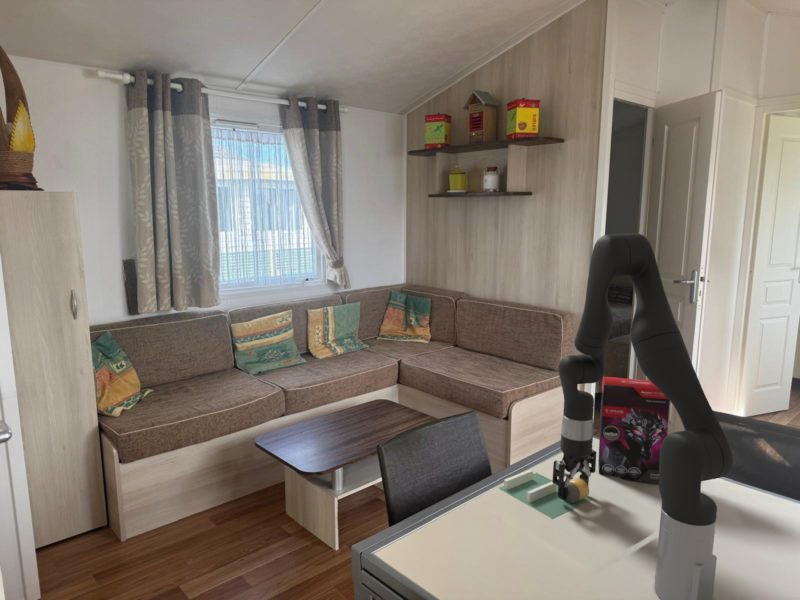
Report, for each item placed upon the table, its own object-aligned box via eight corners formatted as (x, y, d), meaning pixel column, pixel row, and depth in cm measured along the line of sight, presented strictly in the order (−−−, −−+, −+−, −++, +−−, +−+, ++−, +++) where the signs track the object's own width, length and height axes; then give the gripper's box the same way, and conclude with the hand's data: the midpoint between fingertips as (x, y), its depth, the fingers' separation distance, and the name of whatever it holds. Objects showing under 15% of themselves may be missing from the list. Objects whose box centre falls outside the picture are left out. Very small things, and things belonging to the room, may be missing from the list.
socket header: (555, 491, 146) (556, 482, 146) (529, 502, 141) (529, 493, 140) (529, 478, 154) (530, 469, 153) (503, 488, 148) (504, 479, 147)
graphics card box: (597, 477, 156) (603, 382, 151) (596, 466, 163) (602, 375, 158) (664, 486, 151) (673, 388, 147) (660, 474, 158) (668, 381, 153)
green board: (591, 502, 142) (591, 500, 142) (552, 521, 134) (552, 518, 134) (536, 475, 157) (536, 472, 157) (497, 490, 148) (498, 487, 148)
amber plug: (587, 501, 142) (590, 484, 141) (574, 507, 139) (577, 490, 138) (572, 491, 146) (575, 474, 145) (558, 497, 143) (561, 480, 142)
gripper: (571, 445, 133) (567, 509, 135) (607, 431, 141) (603, 492, 144) (545, 434, 139) (542, 496, 141) (582, 422, 147) (578, 480, 150)
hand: (573, 494), depth 143 cm, fingers open, 7 cm apart
